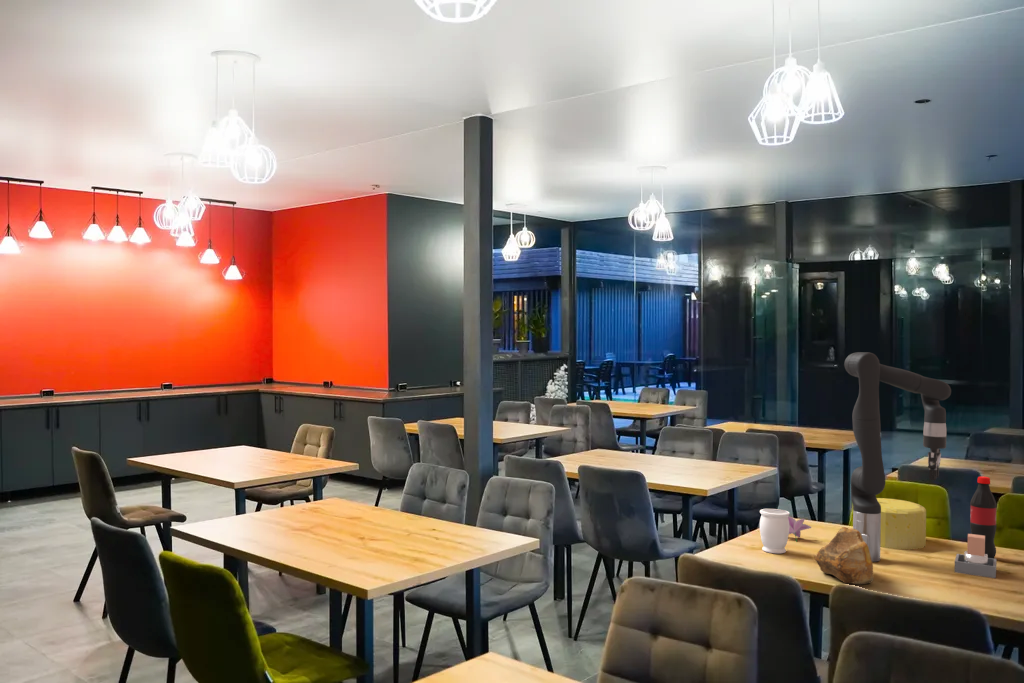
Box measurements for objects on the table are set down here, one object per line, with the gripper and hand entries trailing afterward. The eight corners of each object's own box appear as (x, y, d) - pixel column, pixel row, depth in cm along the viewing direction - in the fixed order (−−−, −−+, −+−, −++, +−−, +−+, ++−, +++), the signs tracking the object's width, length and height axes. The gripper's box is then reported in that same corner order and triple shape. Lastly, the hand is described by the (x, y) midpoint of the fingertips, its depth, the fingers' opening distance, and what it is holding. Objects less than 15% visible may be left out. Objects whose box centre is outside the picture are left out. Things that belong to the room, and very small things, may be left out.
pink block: (984, 556, 271) (984, 538, 271) (967, 554, 273) (967, 536, 273) (984, 553, 275) (985, 535, 275) (968, 550, 277) (968, 533, 277)
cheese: (838, 536, 325) (839, 499, 325) (886, 530, 335) (886, 495, 335) (891, 552, 301) (892, 512, 301) (941, 546, 311) (941, 507, 311)
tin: (981, 575, 269) (981, 557, 269) (959, 570, 275) (960, 552, 275) (991, 571, 273) (991, 554, 273) (969, 566, 279) (970, 549, 279)
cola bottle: (994, 556, 296) (995, 476, 296) (997, 562, 288) (998, 479, 288) (968, 553, 300) (969, 474, 299) (970, 559, 292) (971, 477, 292)
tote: (995, 580, 266) (995, 567, 266) (954, 574, 272) (954, 561, 272) (996, 572, 276) (996, 559, 276) (956, 566, 282) (956, 553, 282)
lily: (816, 543, 317) (810, 519, 321) (807, 536, 308) (802, 512, 313) (786, 548, 322) (781, 525, 327) (777, 542, 314) (772, 518, 318)
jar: (758, 552, 297) (758, 512, 297) (760, 546, 306) (761, 507, 306) (788, 556, 293) (788, 515, 293) (789, 549, 302) (790, 509, 302)
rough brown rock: (811, 567, 281) (808, 525, 281) (861, 566, 278) (858, 524, 278) (823, 589, 258) (820, 543, 258) (878, 589, 255) (874, 542, 255)
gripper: (944, 437, 287) (943, 482, 287) (948, 433, 299) (947, 477, 299) (921, 435, 291) (920, 480, 291) (925, 432, 303) (924, 474, 303)
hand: (933, 478), depth 295 cm, fingers open, 8 cm apart
